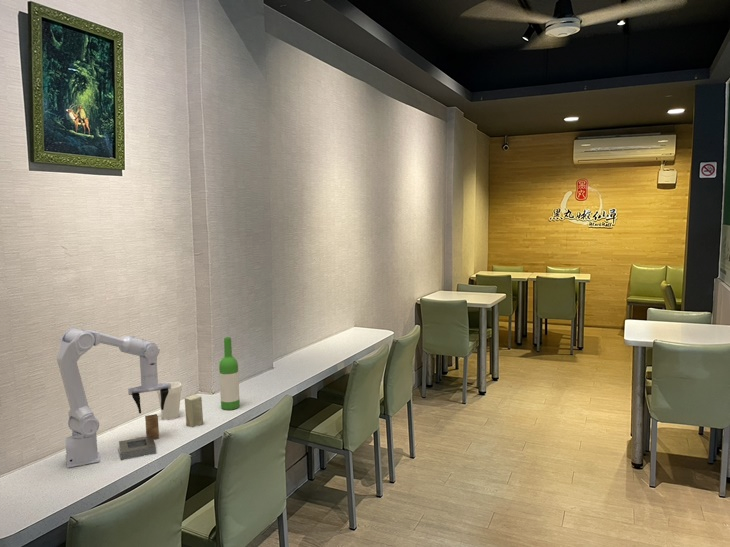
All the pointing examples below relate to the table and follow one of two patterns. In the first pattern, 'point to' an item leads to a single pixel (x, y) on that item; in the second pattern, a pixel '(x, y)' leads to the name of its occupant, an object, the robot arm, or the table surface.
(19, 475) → the table surface
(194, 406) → the box
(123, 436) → the table surface
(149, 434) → the peg
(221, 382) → the wine bottle
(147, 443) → the collar
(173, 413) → the foam cup
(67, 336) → the robot arm
